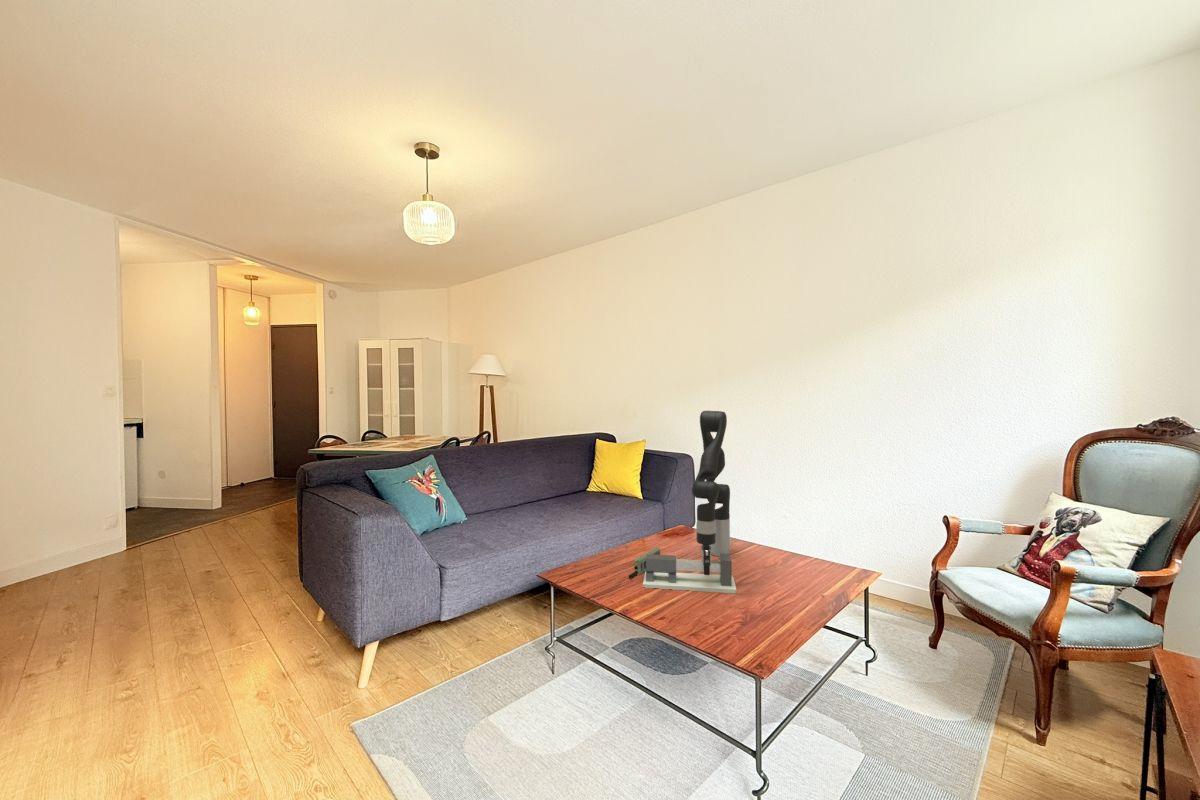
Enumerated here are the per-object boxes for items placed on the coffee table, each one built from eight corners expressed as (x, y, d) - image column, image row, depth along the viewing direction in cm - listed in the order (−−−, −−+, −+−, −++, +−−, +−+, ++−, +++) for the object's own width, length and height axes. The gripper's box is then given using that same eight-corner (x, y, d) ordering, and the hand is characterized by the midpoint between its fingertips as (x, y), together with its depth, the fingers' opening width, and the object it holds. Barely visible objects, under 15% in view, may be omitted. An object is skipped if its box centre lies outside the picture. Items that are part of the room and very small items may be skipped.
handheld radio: (662, 562, 218) (633, 580, 197) (655, 561, 219) (626, 579, 199) (661, 548, 218) (632, 564, 197) (655, 546, 220) (625, 563, 199)
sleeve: (647, 573, 200) (647, 553, 200) (676, 575, 198) (676, 554, 198) (645, 581, 192) (645, 559, 192) (676, 583, 190) (675, 561, 190)
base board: (645, 574, 203) (645, 570, 203) (732, 579, 197) (732, 575, 197) (642, 587, 189) (642, 584, 189) (736, 593, 183) (736, 589, 183)
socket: (719, 577, 195) (719, 553, 195) (729, 578, 194) (729, 553, 194) (721, 585, 187) (720, 560, 187) (731, 586, 186) (731, 560, 186)
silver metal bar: (666, 566, 196) (666, 558, 196) (726, 569, 192) (726, 561, 192) (665, 569, 193) (665, 561, 193) (726, 572, 189) (726, 564, 189)
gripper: (716, 536, 184) (717, 578, 184) (714, 526, 198) (714, 564, 198) (696, 535, 185) (697, 577, 185) (696, 525, 199) (696, 564, 199)
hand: (706, 570), depth 192 cm, fingers open, 8 cm apart
